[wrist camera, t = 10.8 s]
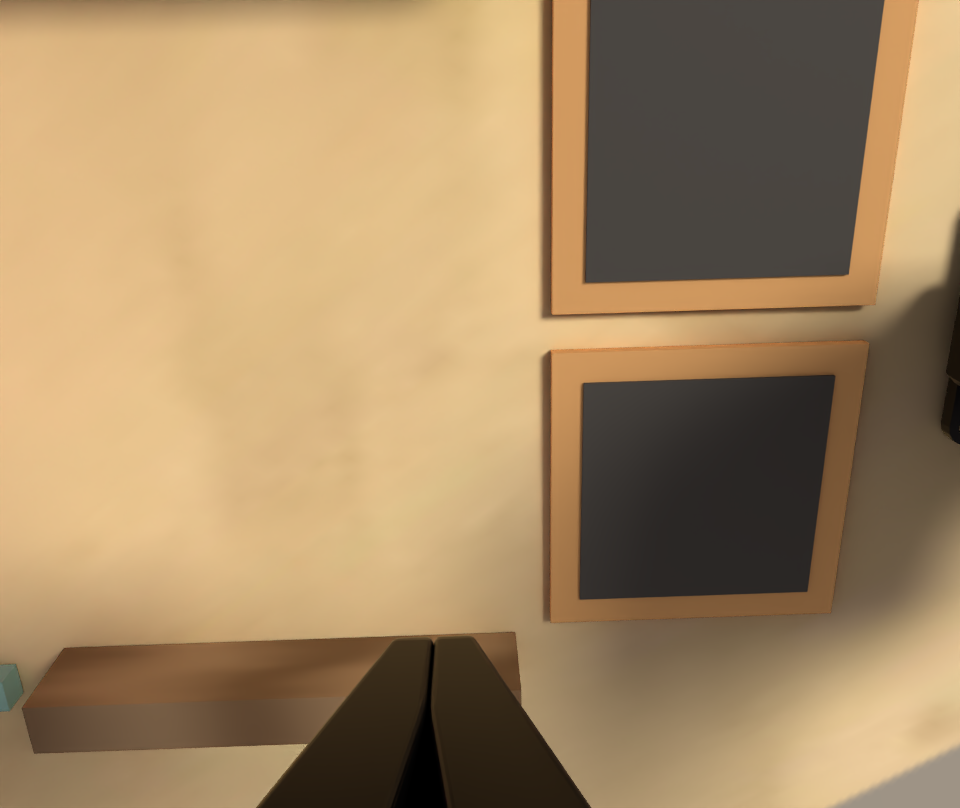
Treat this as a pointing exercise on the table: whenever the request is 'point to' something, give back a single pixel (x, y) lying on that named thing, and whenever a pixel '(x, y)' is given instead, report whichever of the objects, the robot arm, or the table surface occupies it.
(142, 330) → the table surface
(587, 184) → the pit traps
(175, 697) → the channel
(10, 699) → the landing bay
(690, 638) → the table surface
